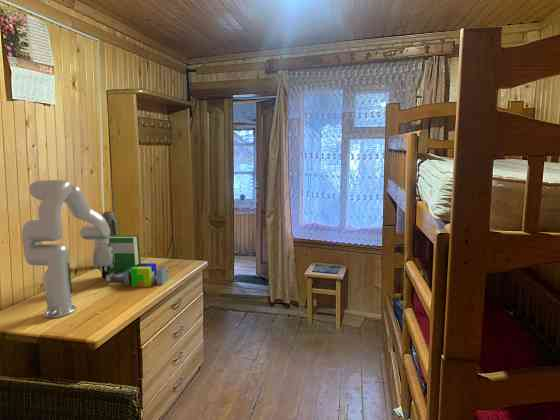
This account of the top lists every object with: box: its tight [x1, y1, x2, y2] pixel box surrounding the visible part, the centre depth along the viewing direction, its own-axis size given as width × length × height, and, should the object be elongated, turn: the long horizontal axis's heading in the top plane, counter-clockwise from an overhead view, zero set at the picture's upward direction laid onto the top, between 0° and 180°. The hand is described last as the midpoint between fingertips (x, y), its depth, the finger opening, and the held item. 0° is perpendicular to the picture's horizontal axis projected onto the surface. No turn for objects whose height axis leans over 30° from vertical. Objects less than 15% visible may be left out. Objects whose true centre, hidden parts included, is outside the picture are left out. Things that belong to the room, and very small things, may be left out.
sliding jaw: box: [105, 267, 132, 287], centre depth 211 cm, size 9×12×8 cm
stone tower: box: [102, 210, 119, 235], centre depth 247 cm, size 9×12×35 cm
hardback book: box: [108, 234, 142, 280], centre depth 222 cm, size 18×7×24 cm, turn 84°
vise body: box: [113, 265, 169, 286], centre depth 212 cm, size 12×30×8 cm, turn 92°
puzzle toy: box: [131, 262, 158, 287], centre depth 210 cm, size 10×10×10 cm
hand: (105, 277), depth 210 cm, fingers closed
